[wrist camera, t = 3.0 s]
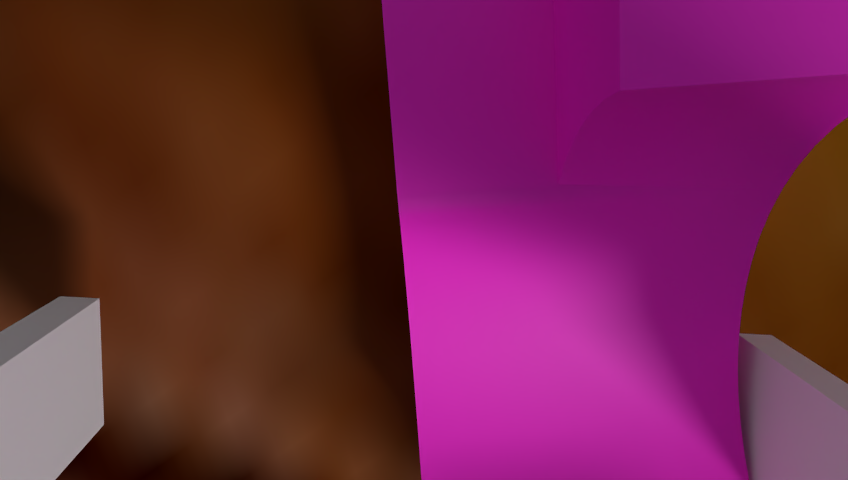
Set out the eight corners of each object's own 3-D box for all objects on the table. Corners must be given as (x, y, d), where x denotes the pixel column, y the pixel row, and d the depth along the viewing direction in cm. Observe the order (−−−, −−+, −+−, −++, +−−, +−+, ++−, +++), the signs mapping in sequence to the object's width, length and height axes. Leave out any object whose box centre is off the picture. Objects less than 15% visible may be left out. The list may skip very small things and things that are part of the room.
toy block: (383, -29, 14) (360, -175, 6) (681, -49, 14) (998, -218, 6) (432, 590, 17) (455, 969, 10) (673, 570, 17) (878, 930, 10)
